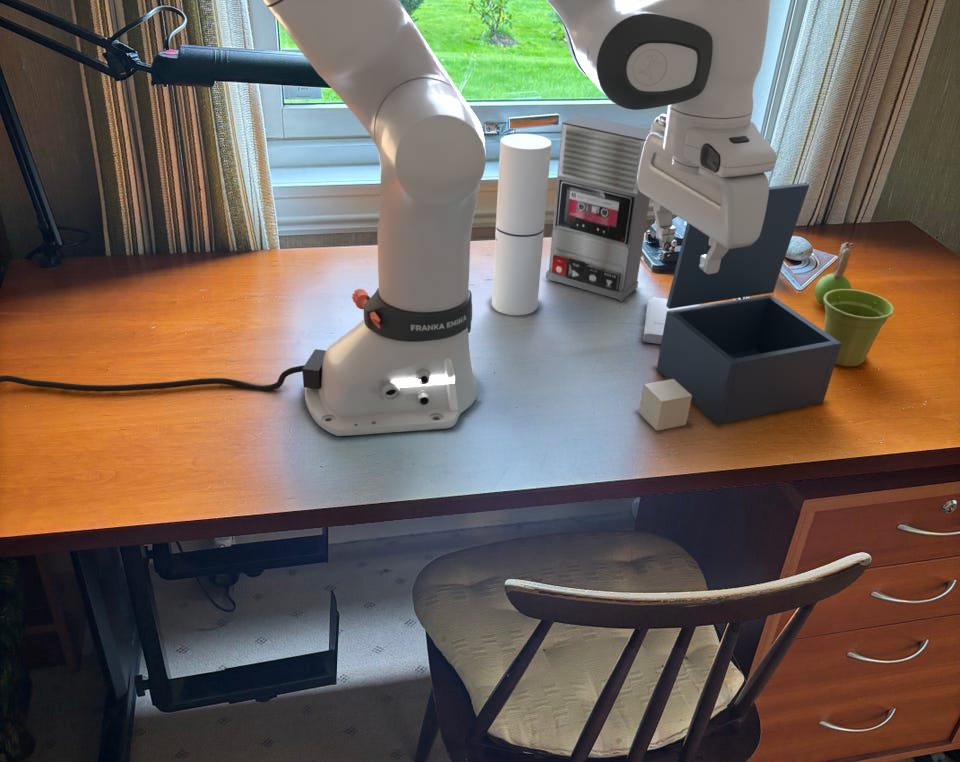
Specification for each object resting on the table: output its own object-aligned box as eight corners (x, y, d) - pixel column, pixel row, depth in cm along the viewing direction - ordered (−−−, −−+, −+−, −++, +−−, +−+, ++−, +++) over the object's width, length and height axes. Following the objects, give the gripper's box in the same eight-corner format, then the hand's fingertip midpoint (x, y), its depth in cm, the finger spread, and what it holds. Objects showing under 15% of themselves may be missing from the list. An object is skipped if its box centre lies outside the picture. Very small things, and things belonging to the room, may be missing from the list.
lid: (809, 185, 117) (786, 168, 120) (697, 197, 111) (676, 180, 115) (773, 292, 128) (752, 274, 131) (668, 309, 122) (650, 290, 125)
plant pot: (800, 340, 137) (815, 287, 131) (862, 342, 137) (879, 289, 132) (819, 372, 129) (836, 316, 124) (885, 374, 129) (904, 319, 124)
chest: (823, 402, 122) (841, 343, 117) (716, 425, 117) (731, 363, 112) (756, 350, 133) (770, 294, 128) (656, 369, 128) (666, 310, 123)
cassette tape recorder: (544, 280, 150) (558, 123, 135) (561, 268, 154) (577, 114, 139) (621, 302, 144) (644, 141, 129) (637, 289, 149) (661, 131, 134)
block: (656, 431, 115) (661, 401, 113) (638, 413, 118) (643, 383, 116) (686, 424, 117) (692, 395, 114) (667, 407, 120) (673, 378, 117)
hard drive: (699, 312, 143) (698, 349, 133) (646, 305, 144) (642, 342, 134) (701, 302, 142) (700, 339, 132) (648, 296, 143) (644, 332, 133)
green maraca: (810, 313, 144) (831, 240, 137) (810, 296, 149) (830, 225, 142) (846, 318, 143) (868, 246, 136) (845, 302, 148) (867, 230, 141)
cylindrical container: (506, 318, 138) (516, 151, 123) (483, 299, 143) (491, 136, 128) (546, 310, 141) (561, 145, 126) (522, 291, 146) (534, 131, 131)
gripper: (632, 111, 106) (618, 227, 114) (735, 166, 91) (711, 294, 99) (678, 107, 108) (662, 220, 116) (787, 160, 93) (759, 286, 101)
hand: (685, 255), depth 107 cm, fingers open, 8 cm apart
